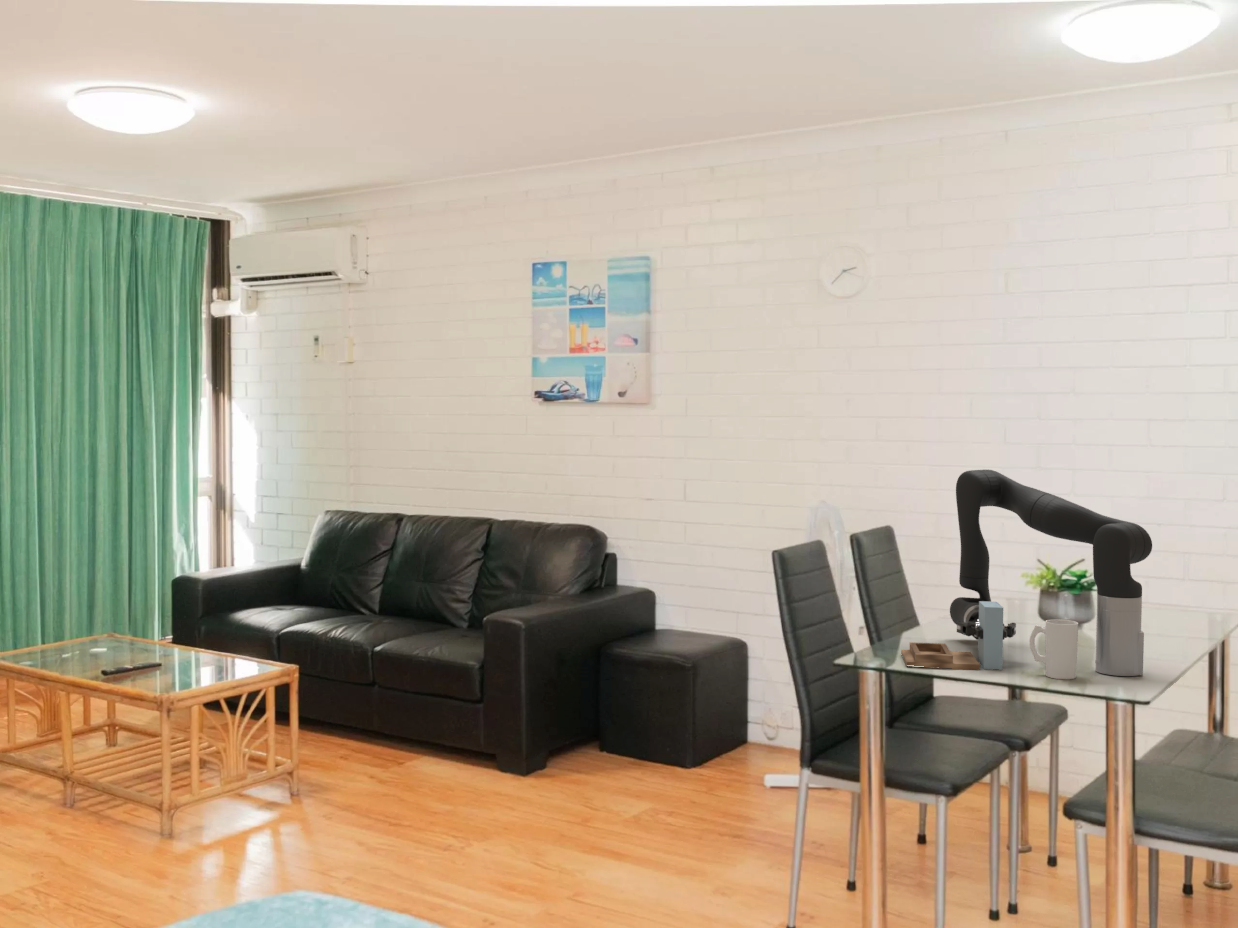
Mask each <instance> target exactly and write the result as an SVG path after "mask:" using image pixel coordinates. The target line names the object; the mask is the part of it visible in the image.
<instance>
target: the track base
mask: <svg viewBox="0 0 1238 928" xmlns="http://www.w3.org/2000/svg"><path fill="white" fill-rule="evenodd" d="M900 650H901V651H900V653H901V654H902V655H901V654H900V655H901V657H902V656H903V657H902V660H903V659H904V660H903V662H904V661H905V662H904V664H905V663H906V664H905V666H906V665H914V666H924V667H939V668H938V669H942V668H952V669H951V670H975V671H979V670H981V665H980V663H979V662H978V659H976V657H975V656H974V654H973V653H972V652H971V651H959V650H958V651H953V650H950V648H949V647H948V646H947V644H946V643H944V642H943V643H942V642H941V643H940V642H939V643H937V642H912V641H911V642H909V649H900Z"/></svg>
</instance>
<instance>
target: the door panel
mask: <svg viewBox="0 0 1238 928" xmlns="http://www.w3.org/2000/svg"><path fill="white" fill-rule="evenodd" d="M979 624H980V627H982V629H983V639H980V638H979V637H978V645H977V646H978V648H977V649H978V650H977V661H978V662H979V664H980V667H982V669H983V670H993V669H999V670H998V671H1000V670H1001V671H1002V670H1003V661H1004V660H1003V658H1004V657H1003V648H1004V643H1003V642H1004V640H1003V624H1004V607H1003V606H1002V605H1001V604H1000V603H999V602H998V601H991V602H990V601H979Z"/></svg>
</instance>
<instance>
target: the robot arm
mask: <svg viewBox="0 0 1238 928" xmlns="http://www.w3.org/2000/svg"><path fill="white" fill-rule="evenodd" d="M956 480H957V481H956V485H955V499H956V501H955V502H956V508H957V519H958V530H959V538H960V560H959V561H960V565H959V578H958V580H959V581H958V582H959V585H960V586H961V587H962V588H964V589H967V590H970V591H973V592H975V593H978V595H979V597H965V596H964V597H961V596H960V597H957V598H954V599H953V601H952V602H951V603H950V606H949V616H950V618H951V621H952V622H953V623H954V624H955V625H956V633H959V634H962V635H964V636H967V637H972V638H974V639H975V640H978V637H979V638H980V639H983V629H982V627H980V624H979V601H990V602H992V599H991V593H990V587H989V577H990V576H989V575H990V554H989V548H988V546H987V543H986V541H985V537H984V535H983V533H982V530H981V525H980V513H981V508H983V507H997V508H1000V509H1004V510H1007V511H1010V512H1012V513H1015V514H1016V515H1017V516H1018V517H1019V518H1020V520H1021V521H1022V522H1023V523H1024V524H1025V525H1026V526H1028V527H1029V528H1031V529H1032V530H1035V531H1037V532H1040V533H1043V534H1045V535H1048V536H1050V537H1054V538H1056V539H1057V538H1058V539H1062V540H1068V541H1070V542H1071V541H1073V542H1079V543H1085V544H1089V545H1092V565H1093V566H1092V567H1093V580H1094V583H1095V586H1096V595H1097V596H1096V629H1095V630H1096V632H1095V633H1096V635H1095V637H1096V638H1095V639H1096V640H1095V671H1096V672H1097V673H1100V674H1104V675H1107V676H1115V677H1117V676H1118V677H1135V676H1143V675H1144V647H1145V645H1144V644H1145V643H1144V641H1145V632H1143V630H1142V616H1143V615H1142V608H1143V607H1142V606H1143V605H1142V604H1143V586H1142V584H1141V583H1140V582H1138V581H1136V580H1135V579H1134V578H1133V576H1132V571H1131V565H1133V564H1136V563H1140V562H1142V561H1144V560H1146V559H1147V558H1148V557H1149V556H1150V555H1151V553H1152V550H1153V540H1152V538H1151V535H1150V534H1149V533H1148V531H1147V530H1146V529H1145V528H1143V526H1141V525H1139V524H1137V523H1134V522H1131V521H1126V520H1122V519H1118V518H1114V517H1110V516H1107V515H1105V514H1104V515H1103V514H1100V513H1098V512H1096V511H1093V510H1091V509H1089V508H1086V507H1084V506H1082V505H1079V504H1077V503H1074V502H1072V501H1070V500H1067V499H1065V498H1062V497H1060V496H1057V495H1055V494H1051V493H1049V492H1046V491H1043V490H1040V489H1037V488H1034V487H1031V486H1027V485H1024V484H1021V483H1019V482H1017V481H1016V480H1014V479H1012V478H1010V477H1009V476H1007V475H1004V474H1002V473H1001V472H998V471H997V470H996V471H995V470H993V469H974V470H973V469H971V470H966V471H964V472H962V473H961V474H960V475H959V476H958V477H957V479H956ZM1016 633H1017V623H1015V622H1010V623H1007V625H1005V623H1003V641H1004V640H1005V639H1007V638H1009V639H1011V638H1013V637H1014V636H1016Z"/></svg>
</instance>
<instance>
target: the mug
mask: <svg viewBox="0 0 1238 928" xmlns="http://www.w3.org/2000/svg"><path fill="white" fill-rule="evenodd" d="M1040 633H1043V634H1044V635H1045V654H1044V655H1041V654H1040V653H1039V652H1038V650H1037V648H1036V641H1035V640H1036V637H1037V636H1038V634H1040ZM1078 638H1079V622H1077V621H1075V620H1069V619H1047V620H1045V626H1044V627H1043V626H1042V625H1040V624H1039V625H1038V624H1035V625H1034V627H1033V629H1032V631H1031V634H1030V635H1029V647H1030V651H1031V653H1032V657H1033V659H1034V661H1035V662H1041V663H1043V664H1044V665H1045V676H1046V677H1048V678H1050V679H1056V680H1074V679H1076V677H1077V665H1078V644H1079V643H1078V642H1079V639H1078Z"/></svg>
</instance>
